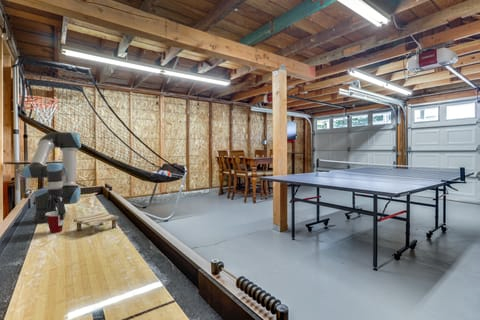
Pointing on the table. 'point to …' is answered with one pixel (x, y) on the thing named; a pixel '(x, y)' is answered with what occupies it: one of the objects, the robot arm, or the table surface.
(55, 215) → the plastic cup
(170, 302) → the table surface
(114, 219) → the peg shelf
